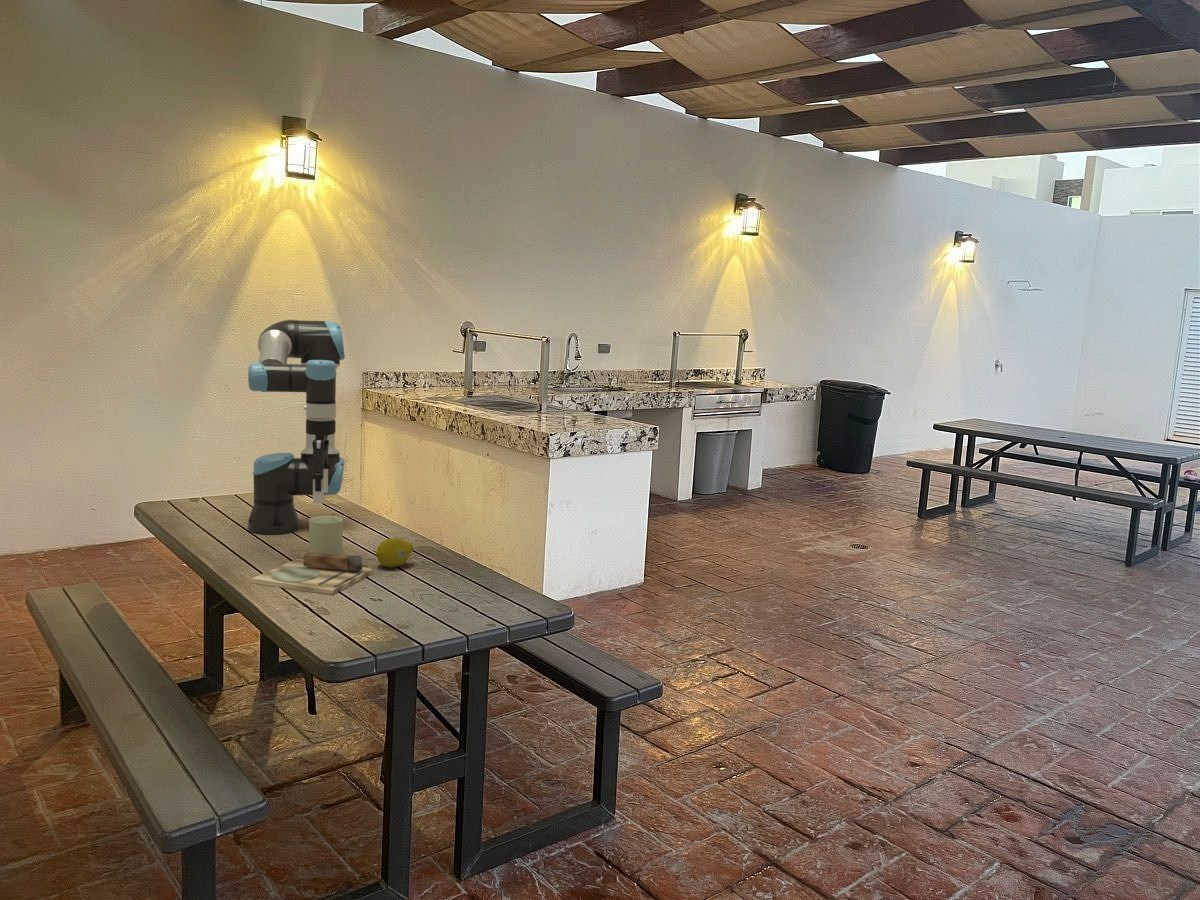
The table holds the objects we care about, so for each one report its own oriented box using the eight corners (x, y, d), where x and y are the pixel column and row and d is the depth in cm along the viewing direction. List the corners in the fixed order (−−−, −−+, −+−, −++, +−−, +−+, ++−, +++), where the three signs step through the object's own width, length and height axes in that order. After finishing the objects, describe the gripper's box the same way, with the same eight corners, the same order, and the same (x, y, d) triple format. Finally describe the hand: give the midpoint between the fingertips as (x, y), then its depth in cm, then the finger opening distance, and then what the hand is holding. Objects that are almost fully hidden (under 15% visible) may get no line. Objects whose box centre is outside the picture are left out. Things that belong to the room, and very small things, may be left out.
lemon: (378, 572, 247) (378, 543, 246) (370, 564, 254) (371, 536, 252) (417, 568, 252) (418, 540, 251) (408, 560, 259) (409, 533, 258)
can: (333, 565, 251) (333, 523, 249) (302, 562, 253) (302, 519, 251) (348, 556, 260) (349, 515, 258) (318, 553, 262) (319, 512, 260)
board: (297, 562, 252) (297, 557, 251) (372, 573, 246) (373, 567, 246) (251, 583, 233) (251, 576, 232) (332, 595, 227) (332, 588, 227)
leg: (364, 567, 244) (364, 556, 244) (359, 571, 241) (359, 560, 240) (308, 562, 245) (308, 551, 245) (303, 566, 242) (303, 555, 241)
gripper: (310, 412, 253) (310, 488, 257) (300, 425, 229) (301, 508, 233) (338, 413, 255) (338, 488, 258) (332, 425, 231) (331, 508, 234)
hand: (320, 497), depth 245 cm, fingers open, 13 cm apart
